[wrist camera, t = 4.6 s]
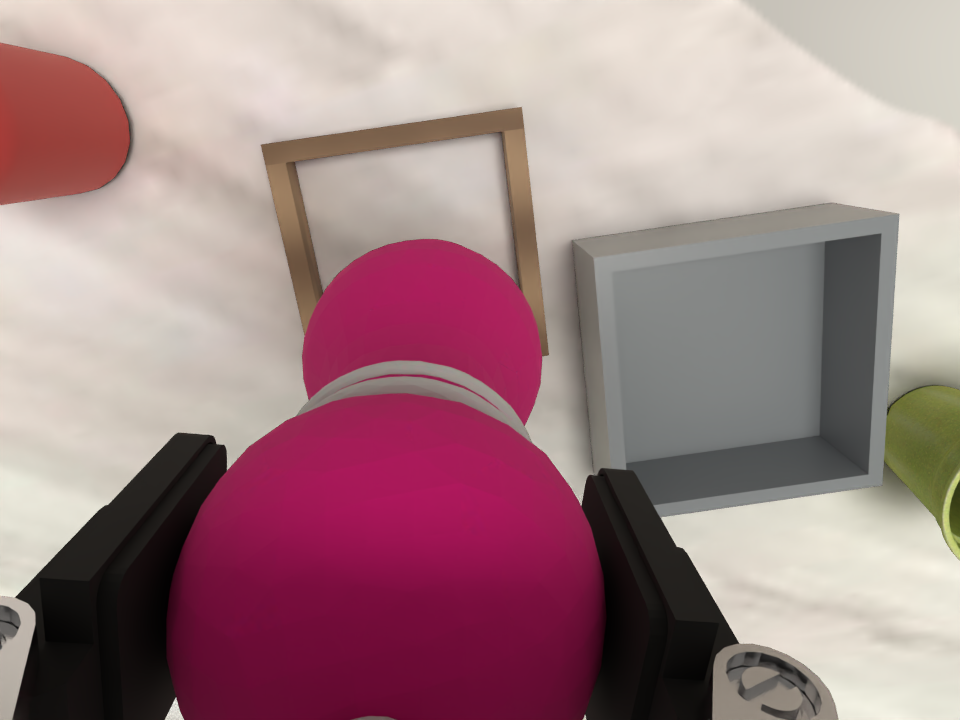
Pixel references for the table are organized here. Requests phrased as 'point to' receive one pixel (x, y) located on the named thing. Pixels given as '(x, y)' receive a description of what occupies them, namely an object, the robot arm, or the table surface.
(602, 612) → the pepper mill
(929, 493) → the plant pot
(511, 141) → the brown wooden picture frame
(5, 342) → the table surface
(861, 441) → the bin
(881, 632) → the table surface
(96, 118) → the beer can
